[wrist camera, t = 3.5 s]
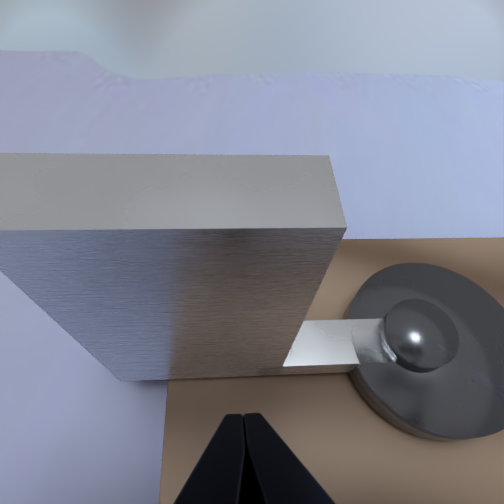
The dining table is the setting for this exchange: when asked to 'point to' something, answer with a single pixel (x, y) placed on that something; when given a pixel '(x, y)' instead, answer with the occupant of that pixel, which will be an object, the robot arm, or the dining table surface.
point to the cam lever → (242, 282)
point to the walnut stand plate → (348, 401)
